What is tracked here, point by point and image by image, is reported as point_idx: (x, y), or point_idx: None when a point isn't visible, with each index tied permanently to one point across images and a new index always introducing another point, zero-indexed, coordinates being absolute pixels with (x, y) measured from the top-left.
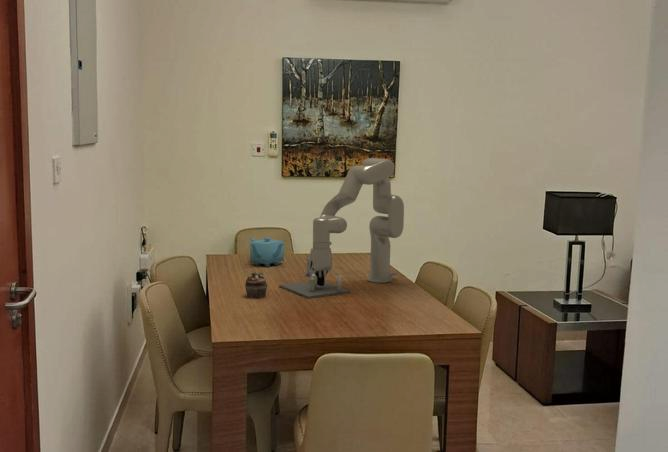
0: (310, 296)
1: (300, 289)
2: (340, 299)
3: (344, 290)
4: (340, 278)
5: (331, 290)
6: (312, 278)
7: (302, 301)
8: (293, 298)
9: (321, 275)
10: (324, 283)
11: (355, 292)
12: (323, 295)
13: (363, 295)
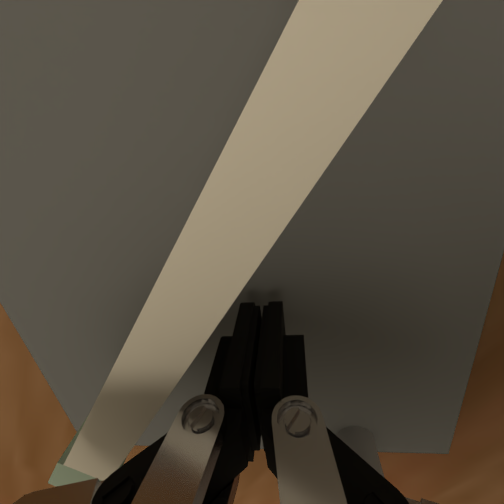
0: None
1: (59, 275)
2: (270, 497)
3: (413, 436)
4: None
5: (314, 401)
6: (90, 467)
7: (51, 450)
8: (3, 392)
9: (265, 449)
10: (471, 101)
11: (489, 441)
12: None
13: (464, 499)
